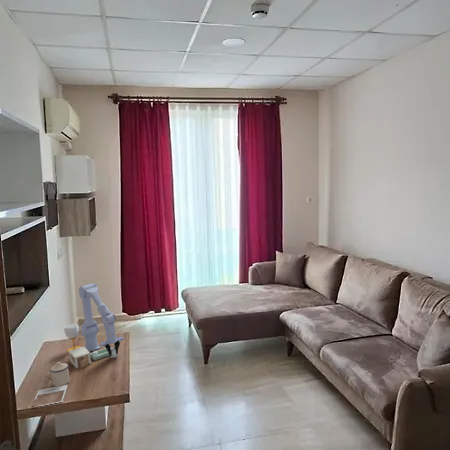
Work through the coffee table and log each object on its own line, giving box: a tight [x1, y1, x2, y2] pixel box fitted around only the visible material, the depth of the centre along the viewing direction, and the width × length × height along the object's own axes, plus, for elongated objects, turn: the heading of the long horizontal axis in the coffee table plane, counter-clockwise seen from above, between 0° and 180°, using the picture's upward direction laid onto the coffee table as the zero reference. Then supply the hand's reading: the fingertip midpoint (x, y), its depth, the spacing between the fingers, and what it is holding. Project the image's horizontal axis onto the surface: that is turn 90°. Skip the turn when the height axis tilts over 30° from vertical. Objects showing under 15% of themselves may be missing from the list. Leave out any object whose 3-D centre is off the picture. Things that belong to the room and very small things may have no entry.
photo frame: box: [34, 384, 68, 407], centre depth 215 cm, size 15×1×18 cm
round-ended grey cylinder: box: [110, 347, 118, 359], centre depth 256 cm, size 3×3×5 cm
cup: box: [64, 323, 81, 353], centre depth 273 cm, size 9×9×16 cm
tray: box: [90, 347, 111, 361], centre depth 260 cm, size 8×13×4 cm, turn 125°
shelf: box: [68, 345, 92, 369], centre depth 252 cm, size 13×9×7 cm
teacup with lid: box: [45, 361, 70, 387], centre depth 228 cm, size 12×9×12 cm
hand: (113, 354), depth 256 cm, fingers closed on round-ended grey cylinder, 3 cm apart
